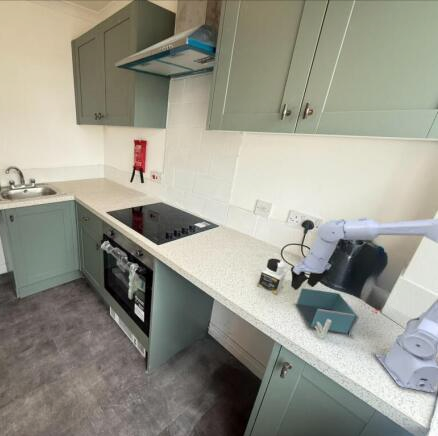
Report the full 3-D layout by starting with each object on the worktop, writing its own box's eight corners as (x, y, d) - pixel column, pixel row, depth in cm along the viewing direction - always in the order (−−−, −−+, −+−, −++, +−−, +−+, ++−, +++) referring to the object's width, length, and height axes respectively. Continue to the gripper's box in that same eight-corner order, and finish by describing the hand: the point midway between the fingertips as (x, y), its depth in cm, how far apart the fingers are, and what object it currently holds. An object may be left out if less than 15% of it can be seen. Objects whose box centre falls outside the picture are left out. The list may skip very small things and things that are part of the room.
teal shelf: (356, 345, 74) (365, 327, 71) (318, 339, 75) (325, 321, 73) (346, 331, 79) (354, 314, 76) (310, 325, 80) (317, 308, 78)
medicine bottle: (257, 285, 101) (264, 260, 97) (264, 278, 106) (271, 254, 101) (275, 294, 97) (283, 268, 92) (281, 286, 101) (289, 261, 97)
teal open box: (350, 336, 78) (359, 316, 75) (309, 329, 80) (316, 310, 77) (331, 310, 89) (339, 292, 86) (296, 305, 91) (302, 287, 88)
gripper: (323, 245, 84) (307, 276, 90) (292, 249, 80) (277, 281, 86) (343, 258, 78) (324, 289, 85) (311, 263, 74) (293, 296, 80)
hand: (302, 286), depth 85 cm, fingers open, 7 cm apart
